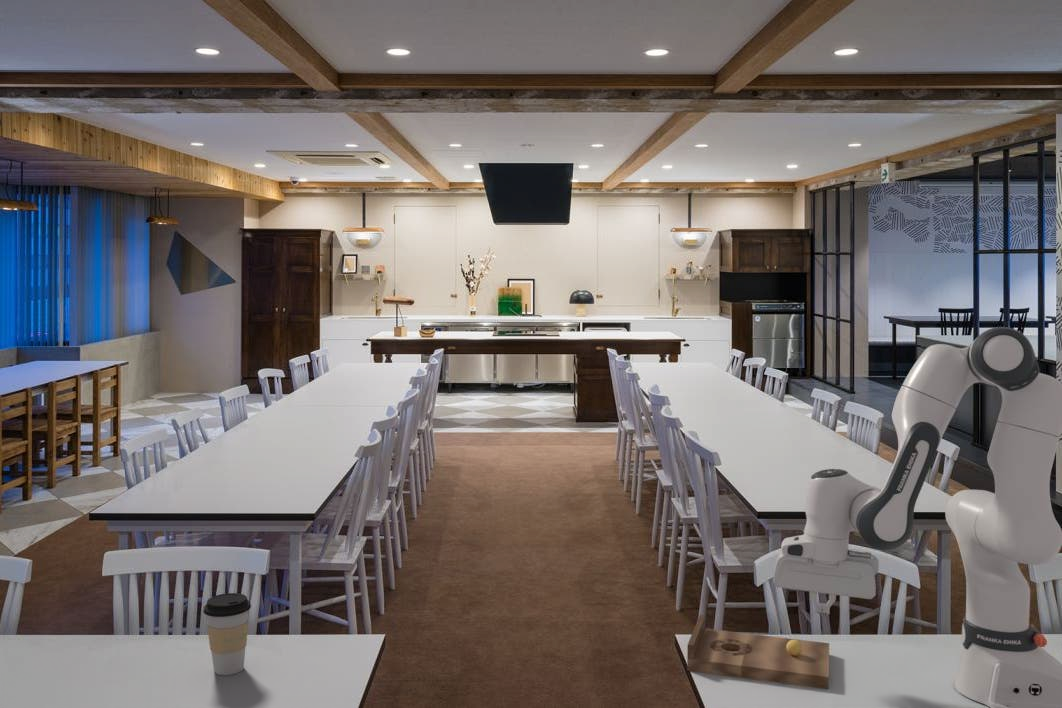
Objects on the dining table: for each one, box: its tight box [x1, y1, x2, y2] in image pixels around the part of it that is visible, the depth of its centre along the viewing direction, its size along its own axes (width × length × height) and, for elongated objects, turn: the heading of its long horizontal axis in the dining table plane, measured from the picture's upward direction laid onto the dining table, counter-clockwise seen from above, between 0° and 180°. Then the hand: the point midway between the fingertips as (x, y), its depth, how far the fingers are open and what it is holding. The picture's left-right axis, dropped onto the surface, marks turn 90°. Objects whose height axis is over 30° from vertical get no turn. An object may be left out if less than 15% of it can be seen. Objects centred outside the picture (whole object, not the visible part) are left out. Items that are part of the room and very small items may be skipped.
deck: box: [686, 614, 830, 690], centre depth 193 cm, size 28×18×6 cm, turn 71°
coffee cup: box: [202, 592, 252, 676], centre depth 189 cm, size 9×9×15 cm
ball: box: [786, 639, 802, 656], centre depth 190 cm, size 3×3×3 cm
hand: (822, 613), depth 188 cm, fingers closed
